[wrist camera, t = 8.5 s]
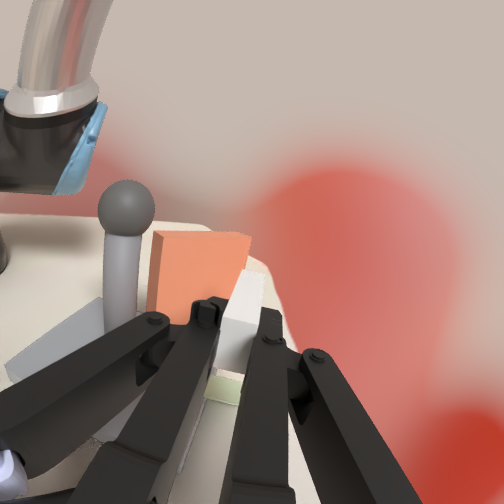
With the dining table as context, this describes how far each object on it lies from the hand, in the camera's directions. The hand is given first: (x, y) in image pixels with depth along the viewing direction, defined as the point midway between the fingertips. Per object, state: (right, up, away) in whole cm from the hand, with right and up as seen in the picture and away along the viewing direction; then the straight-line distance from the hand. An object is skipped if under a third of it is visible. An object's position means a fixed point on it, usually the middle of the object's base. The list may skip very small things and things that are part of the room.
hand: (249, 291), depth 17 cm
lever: (-7, -5, +3) cm, 9 cm away
